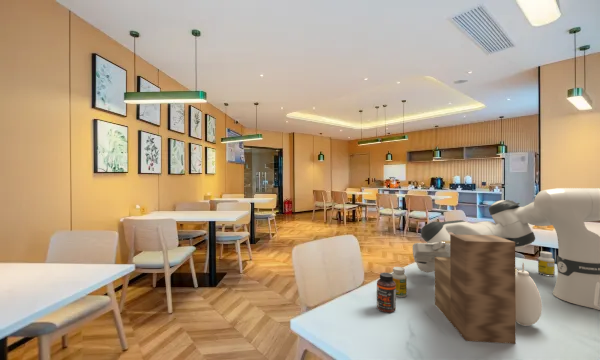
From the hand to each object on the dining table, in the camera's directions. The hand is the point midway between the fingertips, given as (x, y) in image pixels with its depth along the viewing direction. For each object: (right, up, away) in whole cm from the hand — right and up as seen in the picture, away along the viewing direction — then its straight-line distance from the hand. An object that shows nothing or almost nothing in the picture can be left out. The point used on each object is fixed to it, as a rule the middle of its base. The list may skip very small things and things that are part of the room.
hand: (449, 244), depth 93 cm
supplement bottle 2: (-15, -20, +6) cm, 26 cm away
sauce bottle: (+13, -20, -15) cm, 28 cm away
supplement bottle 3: (+57, -20, +27) cm, 66 cm away
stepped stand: (-1, -20, -13) cm, 24 cm away
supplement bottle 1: (-24, -20, -5) cm, 31 cm away
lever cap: (0, -1, -4) cm, 4 cm away
